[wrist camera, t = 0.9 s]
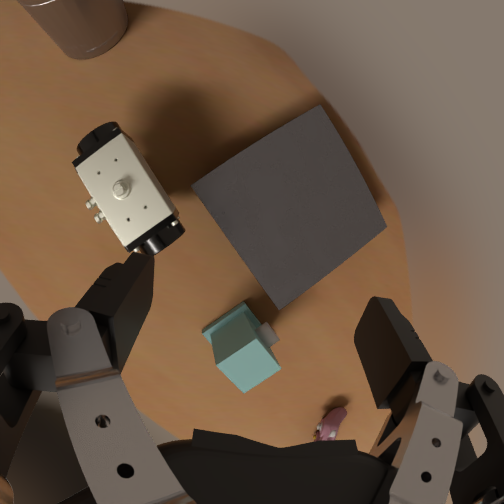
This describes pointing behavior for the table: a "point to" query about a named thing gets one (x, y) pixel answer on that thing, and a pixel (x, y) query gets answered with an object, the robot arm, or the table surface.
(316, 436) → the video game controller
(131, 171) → the pneumatic valve
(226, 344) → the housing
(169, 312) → the table surface
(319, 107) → the stand
